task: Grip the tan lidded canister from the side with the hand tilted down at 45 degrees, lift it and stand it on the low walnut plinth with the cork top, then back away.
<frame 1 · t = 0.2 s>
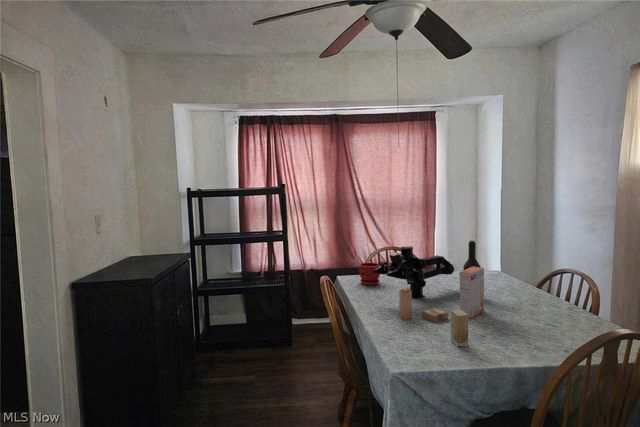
hand: (380, 273, 189), 17 cm above the table, tool horizontal, fingers open, 9 cm apart
plinth: (434, 318, 171), on the table
cracker box: (471, 314, 175), on the table
wine bottle: (471, 297, 200), on the table
skincare box: (459, 344, 144), on the table
plant pot: (370, 283, 233), on the table
tan lidded canister: (405, 317, 173), on the table
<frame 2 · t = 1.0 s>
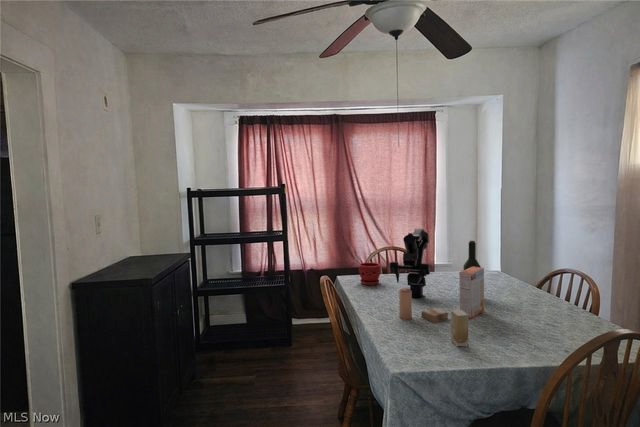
hand: (407, 283, 179), 14 cm above the table, tool tilted 45°, fingers open, 9 cm apart
nothing on the table moved.
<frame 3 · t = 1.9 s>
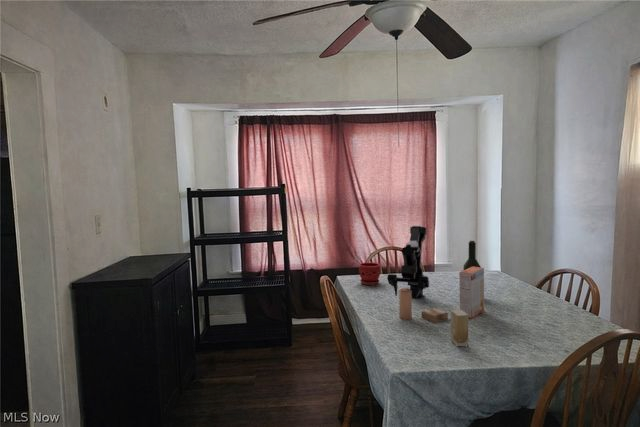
hand: (406, 296, 174), 9 cm above the table, tool tilted 45°, fingers open, 9 cm apart
nothing on the table moved.
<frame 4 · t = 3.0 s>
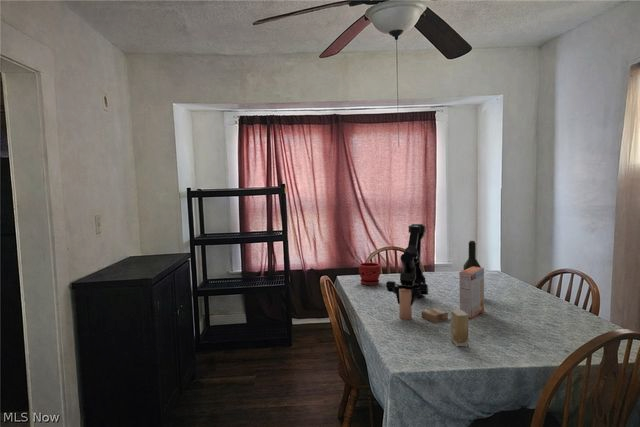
hand: (404, 304, 171), 7 cm above the table, tool tilted 45°, fingers closed on tan lidded canister, 5 cm apart
tan lidded canister: (405, 317, 173), on the table, touching gripper
everything else where it was.
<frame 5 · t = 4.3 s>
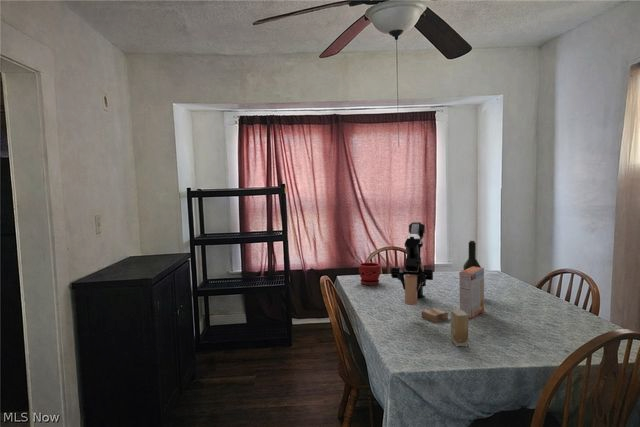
hand: (410, 289, 170), 13 cm above the table, tool tilted 45°, fingers closed on tan lidded canister, 5 cm apart
tan lidded canister: (411, 303, 172), point 7 cm above the table, touching gripper
everything else where it was.
when the fingers open (10 cm above the table, at t = 5.8 s): tan lidded canister stays where it is, resting on plinth.
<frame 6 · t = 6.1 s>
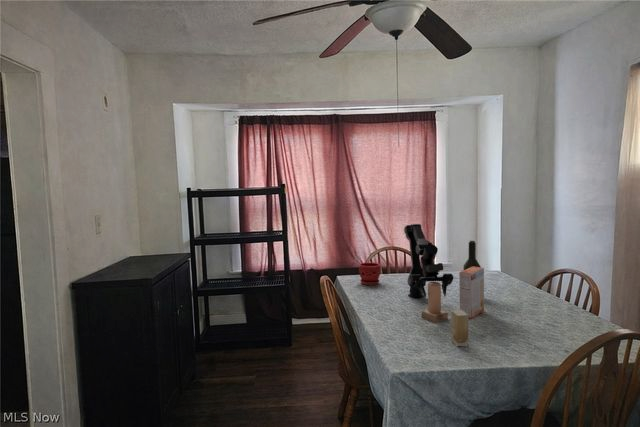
hand: (435, 296, 169), 11 cm above the table, tool tilted 45°, fingers open, 8 cm apart
tan lidded canister: (434, 311, 171), point 3 cm above the table, touching plinth
everything else where it was.
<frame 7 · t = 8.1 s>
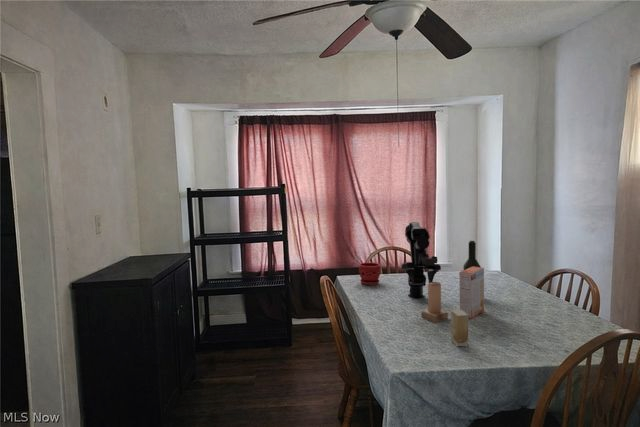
hand: (422, 284, 182), 12 cm above the table, tool tilted 20°, fingers open, 9 cm apart
nothing on the table moved.
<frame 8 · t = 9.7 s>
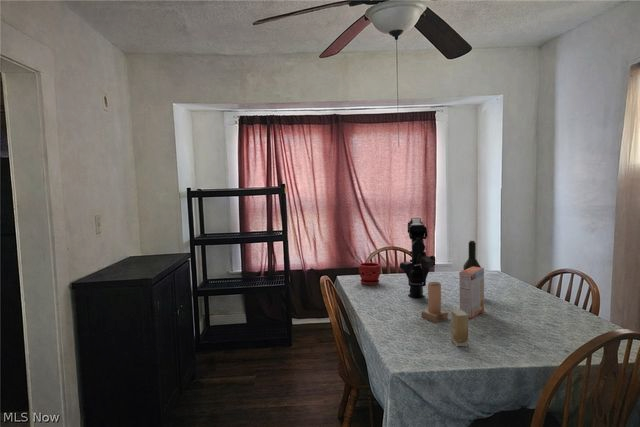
hand: (417, 281, 185), 13 cm above the table, tool pointing down, fingers open, 9 cm apart
nothing on the table moved.
at the end: tan lidded canister inside the target area on the plinth (0.0 cm from its centre), point 3.0 cm above the plinth's base; tan lidded canister tilted 0°; the gripper is holding nothing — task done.
